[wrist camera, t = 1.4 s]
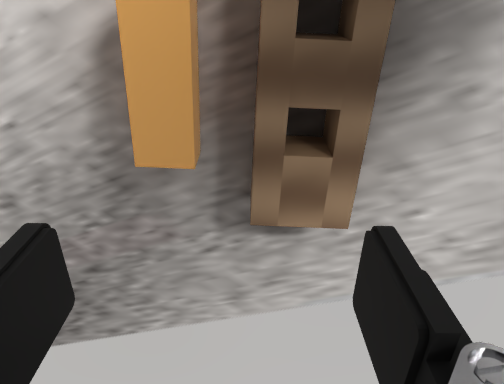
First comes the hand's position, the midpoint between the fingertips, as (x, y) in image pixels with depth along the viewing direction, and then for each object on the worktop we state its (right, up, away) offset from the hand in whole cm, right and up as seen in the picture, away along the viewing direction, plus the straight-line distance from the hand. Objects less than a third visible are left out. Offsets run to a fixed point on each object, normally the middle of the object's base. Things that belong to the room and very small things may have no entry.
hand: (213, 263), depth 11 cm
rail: (+6, +12, +17) cm, 21 cm away
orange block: (-4, +12, +17) cm, 21 cm away
